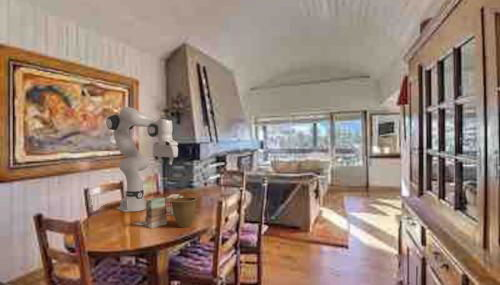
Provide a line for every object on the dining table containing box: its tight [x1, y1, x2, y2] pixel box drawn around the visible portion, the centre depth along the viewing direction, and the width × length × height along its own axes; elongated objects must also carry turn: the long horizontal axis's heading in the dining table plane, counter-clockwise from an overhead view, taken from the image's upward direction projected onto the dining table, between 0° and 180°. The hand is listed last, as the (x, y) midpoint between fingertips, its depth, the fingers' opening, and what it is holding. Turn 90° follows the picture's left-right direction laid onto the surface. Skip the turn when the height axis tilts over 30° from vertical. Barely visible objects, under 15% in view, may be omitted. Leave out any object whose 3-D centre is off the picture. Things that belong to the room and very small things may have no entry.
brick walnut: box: [145, 205, 166, 218], centre depth 193 cm, size 5×10×5 cm, turn 145°
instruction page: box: [133, 220, 145, 226], centre depth 199 cm, size 7×9×1 cm
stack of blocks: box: [165, 193, 184, 216], centre depth 228 cm, size 21×6×12 cm, turn 176°
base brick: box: [144, 213, 168, 229], centre depth 193 cm, size 6×11×6 cm, turn 144°
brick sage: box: [145, 196, 166, 209], centre depth 193 cm, size 5×10×5 cm, turn 144°
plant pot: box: [171, 196, 197, 228], centre depth 191 cm, size 15×15×16 cm
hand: (165, 163), depth 208 cm, fingers open, 8 cm apart
